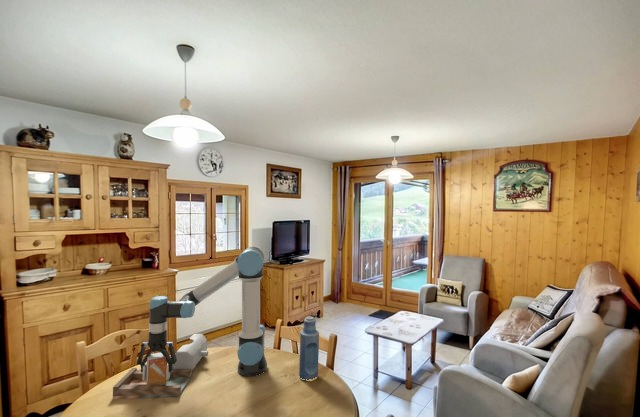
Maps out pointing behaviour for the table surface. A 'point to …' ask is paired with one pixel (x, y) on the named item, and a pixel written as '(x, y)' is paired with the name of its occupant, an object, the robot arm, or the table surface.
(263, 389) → the table surface
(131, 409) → the table surface
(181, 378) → the board
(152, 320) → the robot arm
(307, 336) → the bottle
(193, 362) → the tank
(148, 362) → the small box
